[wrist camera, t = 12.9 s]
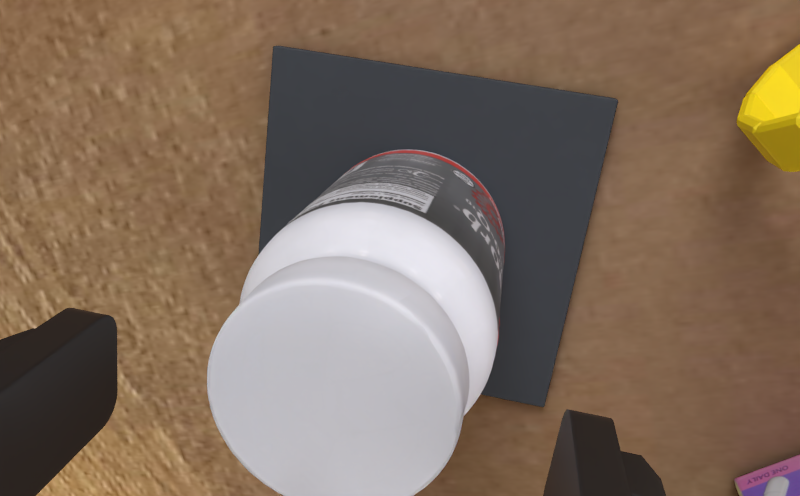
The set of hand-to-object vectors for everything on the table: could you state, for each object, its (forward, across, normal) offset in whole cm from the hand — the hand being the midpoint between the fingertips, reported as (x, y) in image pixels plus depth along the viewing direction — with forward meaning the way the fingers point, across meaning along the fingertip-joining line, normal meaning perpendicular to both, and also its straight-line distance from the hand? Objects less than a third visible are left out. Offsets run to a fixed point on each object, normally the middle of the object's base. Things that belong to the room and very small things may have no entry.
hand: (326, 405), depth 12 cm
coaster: (+10, 0, 0) cm, 10 cm away
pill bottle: (+10, 0, 0) cm, 10 cm away
